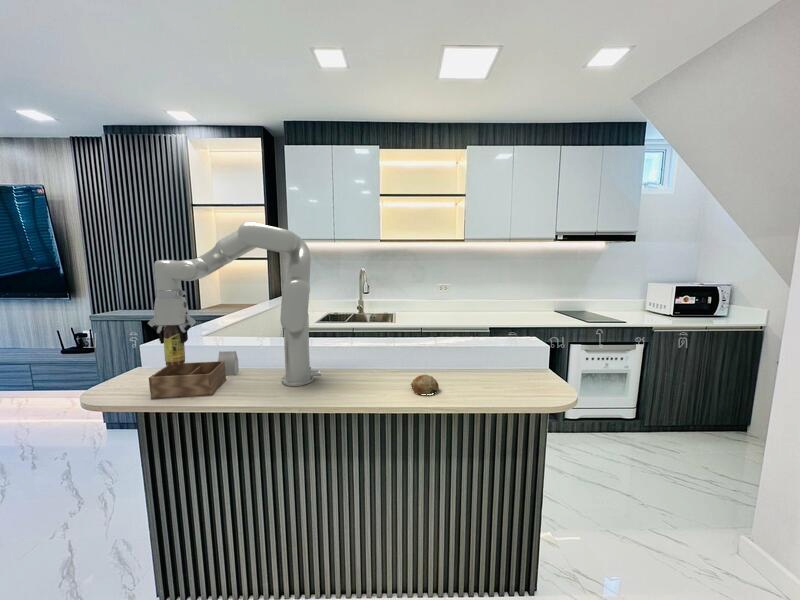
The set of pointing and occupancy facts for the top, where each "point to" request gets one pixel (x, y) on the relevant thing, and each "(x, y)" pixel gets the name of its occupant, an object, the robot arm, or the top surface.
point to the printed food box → (229, 362)
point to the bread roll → (424, 385)
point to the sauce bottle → (173, 346)
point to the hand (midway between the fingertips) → (173, 342)
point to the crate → (187, 380)
